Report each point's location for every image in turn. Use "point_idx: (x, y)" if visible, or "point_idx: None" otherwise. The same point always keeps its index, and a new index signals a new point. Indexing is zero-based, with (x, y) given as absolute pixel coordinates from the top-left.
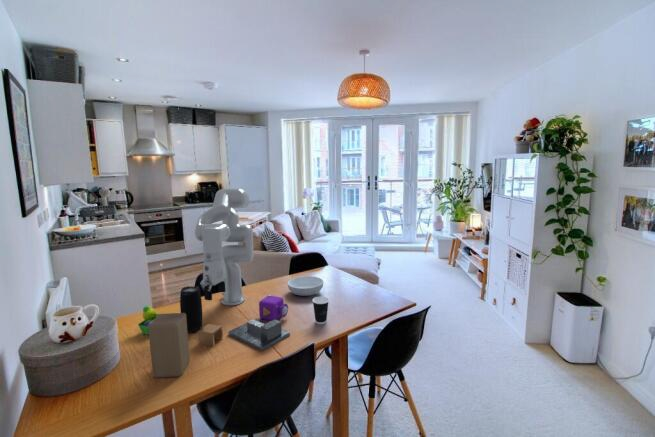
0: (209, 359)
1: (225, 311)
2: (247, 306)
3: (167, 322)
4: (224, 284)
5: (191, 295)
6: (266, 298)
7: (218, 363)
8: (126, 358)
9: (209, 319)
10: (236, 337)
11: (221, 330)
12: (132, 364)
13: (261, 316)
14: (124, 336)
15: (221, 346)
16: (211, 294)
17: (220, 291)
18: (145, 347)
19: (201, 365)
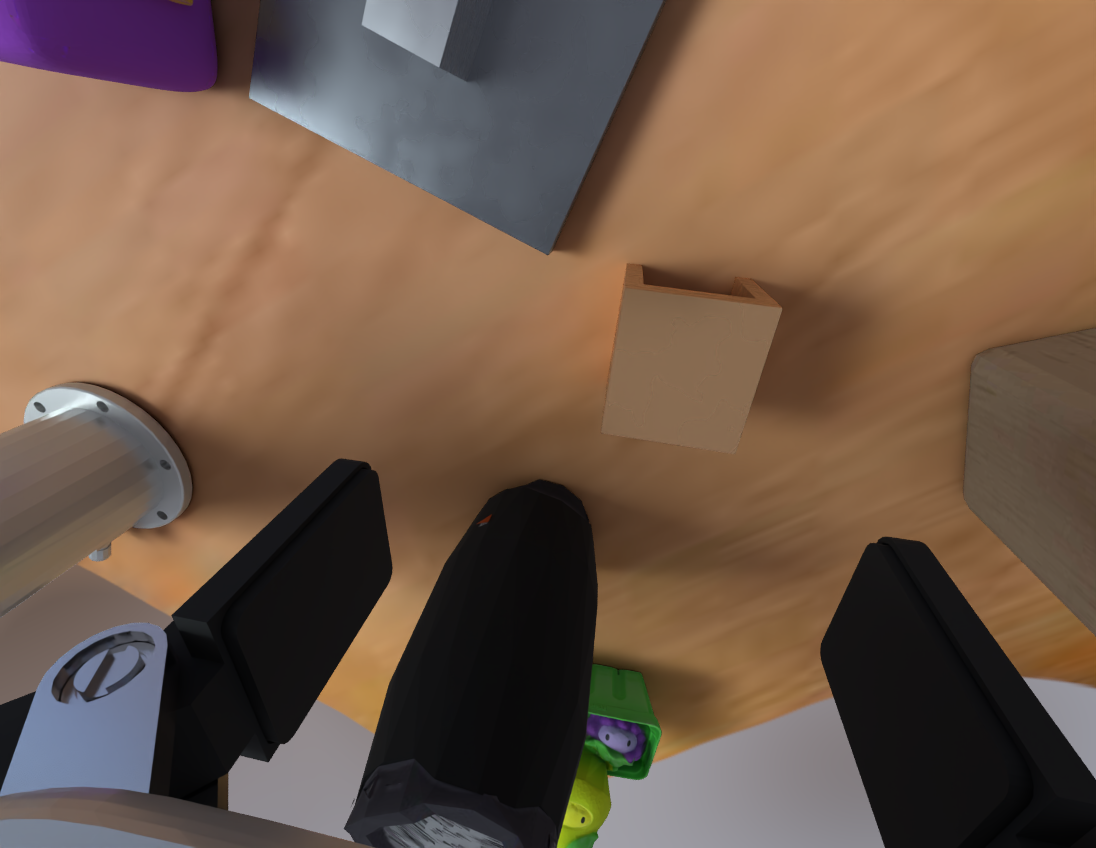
0: (962, 206)
1: (259, 441)
2: (116, 322)
3: None
4: (232, 590)
5: (530, 788)
6: None
7: (1054, 76)
8: None
9: (393, 488)
10: (601, 139)
11: (637, 281)
12: None
13: (202, 50)
14: (664, 755)
15: (745, 212)
16: (990, 658)
17: (383, 542)
18: (766, 650)
19: (1056, 226)
